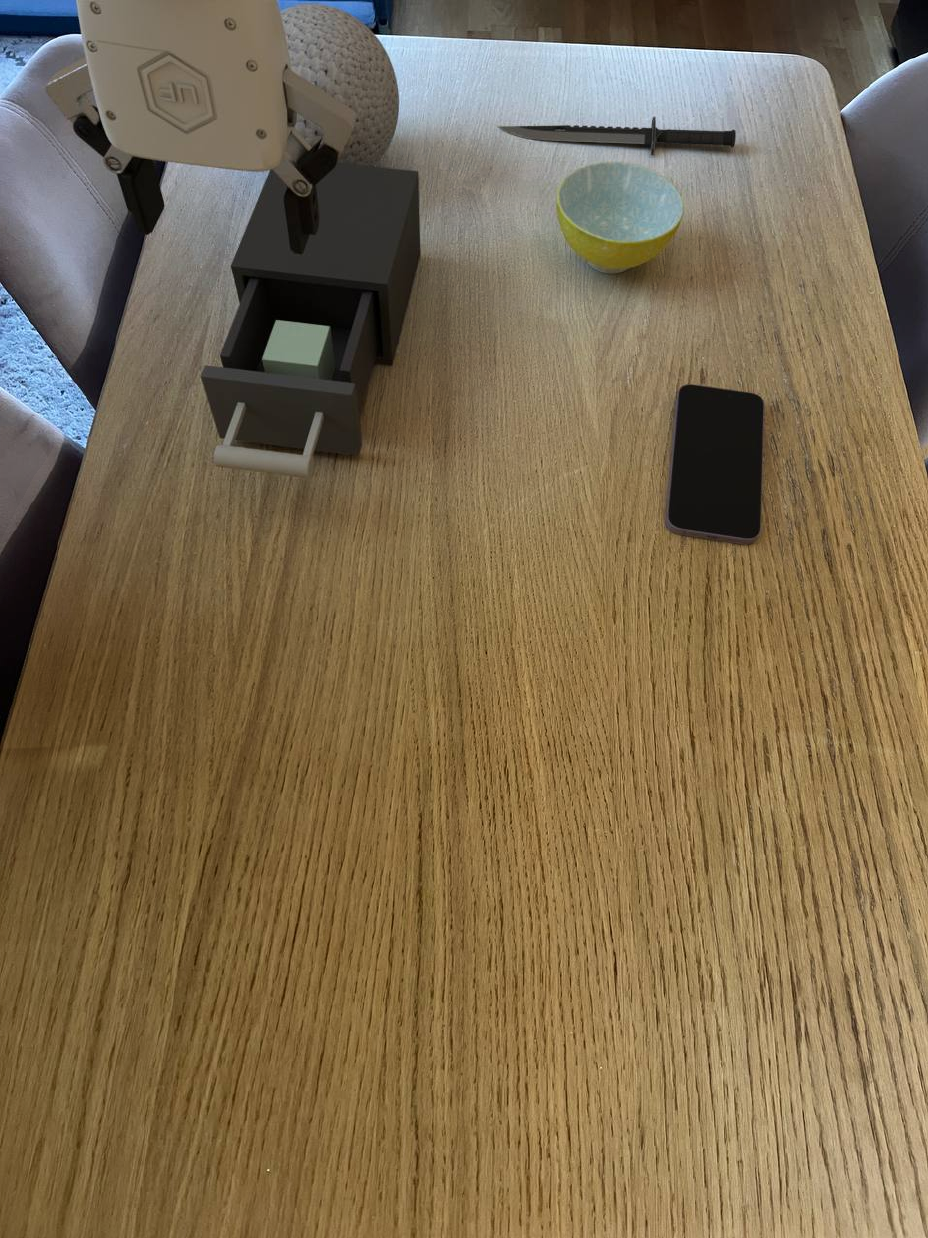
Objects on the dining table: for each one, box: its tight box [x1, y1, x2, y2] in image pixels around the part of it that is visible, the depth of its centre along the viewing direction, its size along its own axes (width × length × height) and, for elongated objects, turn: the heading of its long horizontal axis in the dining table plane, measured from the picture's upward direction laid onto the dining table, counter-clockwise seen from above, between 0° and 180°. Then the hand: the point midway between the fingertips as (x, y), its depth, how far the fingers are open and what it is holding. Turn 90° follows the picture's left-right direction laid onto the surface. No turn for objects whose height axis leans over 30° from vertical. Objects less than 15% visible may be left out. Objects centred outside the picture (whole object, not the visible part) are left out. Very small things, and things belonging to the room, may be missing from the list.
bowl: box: [556, 161, 685, 275], centre depth 84 cm, size 11×12×6 cm
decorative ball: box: [280, 3, 400, 167], centre depth 85 cm, size 15×15×15 cm
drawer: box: [200, 276, 382, 479], centre depth 71 cm, size 19×11×7 cm, turn 172°
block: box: [262, 320, 336, 381], centre depth 73 cm, size 4×4×4 cm
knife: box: [497, 116, 737, 156], centre depth 95 cm, size 25×2×5 cm
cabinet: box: [230, 162, 422, 367], centre depth 79 cm, size 15×13×9 cm
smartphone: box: [664, 383, 766, 545], centre depth 73 cm, size 7×1×15 cm
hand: (227, 230), depth 57 cm, fingers open, 9 cm apart
